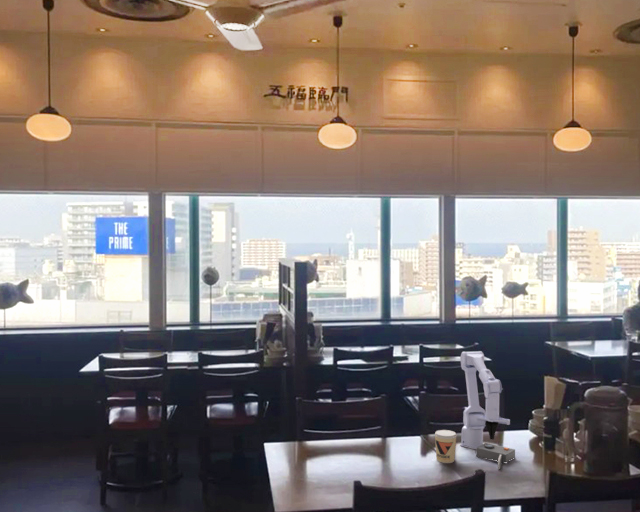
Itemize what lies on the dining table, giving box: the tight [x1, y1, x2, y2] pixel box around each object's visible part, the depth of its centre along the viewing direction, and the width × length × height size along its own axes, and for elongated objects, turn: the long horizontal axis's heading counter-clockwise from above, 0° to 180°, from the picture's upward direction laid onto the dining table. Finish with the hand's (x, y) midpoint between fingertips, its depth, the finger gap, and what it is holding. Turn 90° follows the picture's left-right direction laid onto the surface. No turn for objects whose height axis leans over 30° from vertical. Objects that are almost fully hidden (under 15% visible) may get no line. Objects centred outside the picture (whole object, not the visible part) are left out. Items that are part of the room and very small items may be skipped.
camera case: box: [475, 442, 516, 463], centre depth 280 cm, size 14×9×5 cm, turn 48°
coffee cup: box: [434, 429, 457, 464], centre depth 277 cm, size 9×9×12 cm
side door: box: [497, 454, 502, 470], centre depth 268 cm, size 10×1×4 cm, turn 159°
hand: (492, 438), depth 275 cm, fingers closed
